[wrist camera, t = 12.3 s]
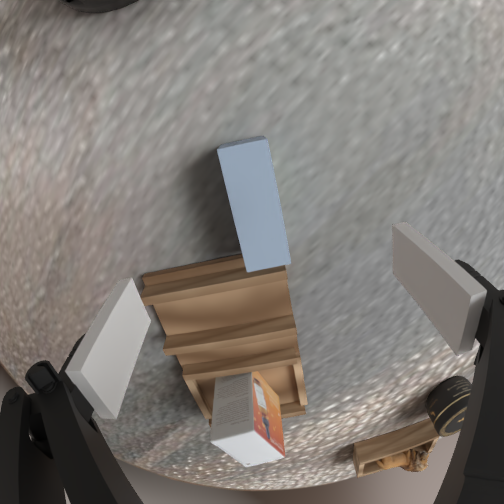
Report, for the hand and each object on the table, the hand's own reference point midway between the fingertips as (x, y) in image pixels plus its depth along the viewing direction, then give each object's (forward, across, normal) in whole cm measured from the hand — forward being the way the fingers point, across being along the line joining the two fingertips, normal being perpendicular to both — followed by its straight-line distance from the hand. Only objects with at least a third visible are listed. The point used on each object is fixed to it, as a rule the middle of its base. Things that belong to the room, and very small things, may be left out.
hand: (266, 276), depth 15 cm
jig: (+16, -6, -18) cm, 25 cm away
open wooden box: (+16, +18, -54) cm, 59 cm away
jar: (+16, +28, -42) cm, 53 cm away
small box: (+16, -6, -25) cm, 30 cm away
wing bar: (+17, 0, 0) cm, 17 cm away
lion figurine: (+16, +18, -54) cm, 59 cm away
